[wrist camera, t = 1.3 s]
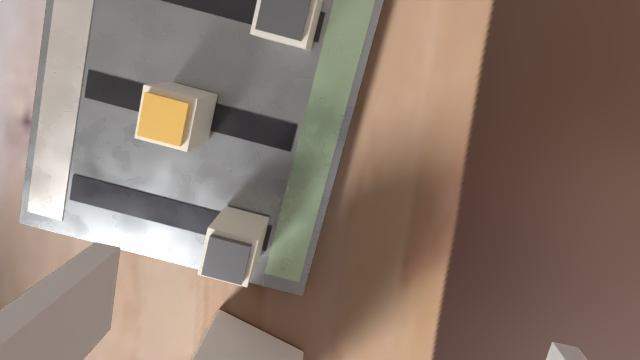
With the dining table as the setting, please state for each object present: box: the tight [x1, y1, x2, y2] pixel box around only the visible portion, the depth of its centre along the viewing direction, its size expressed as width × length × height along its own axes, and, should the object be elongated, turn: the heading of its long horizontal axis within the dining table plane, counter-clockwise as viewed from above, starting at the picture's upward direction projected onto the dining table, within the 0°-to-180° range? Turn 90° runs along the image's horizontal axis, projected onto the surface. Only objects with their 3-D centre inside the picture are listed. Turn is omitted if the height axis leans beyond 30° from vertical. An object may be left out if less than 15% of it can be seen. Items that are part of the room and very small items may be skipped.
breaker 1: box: [197, 206, 270, 287], centre depth 31 cm, size 3×3×5 cm
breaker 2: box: [250, 0, 323, 51], centre depth 28 cm, size 3×3×5 cm
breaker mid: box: [134, 82, 218, 152], centre depth 29 cm, size 3×3×5 cm
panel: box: [19, 0, 384, 296], centre depth 33 cm, size 20×21×2 cm
